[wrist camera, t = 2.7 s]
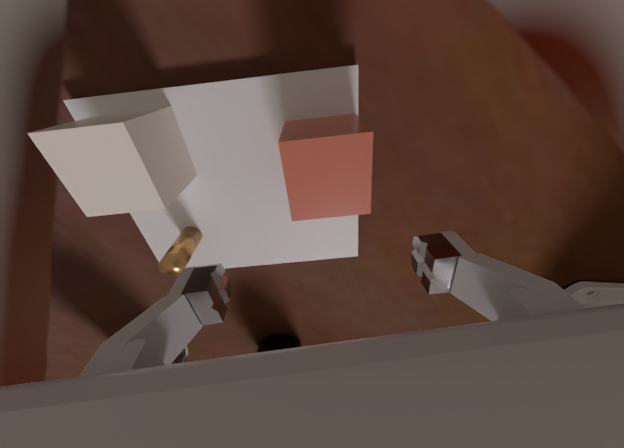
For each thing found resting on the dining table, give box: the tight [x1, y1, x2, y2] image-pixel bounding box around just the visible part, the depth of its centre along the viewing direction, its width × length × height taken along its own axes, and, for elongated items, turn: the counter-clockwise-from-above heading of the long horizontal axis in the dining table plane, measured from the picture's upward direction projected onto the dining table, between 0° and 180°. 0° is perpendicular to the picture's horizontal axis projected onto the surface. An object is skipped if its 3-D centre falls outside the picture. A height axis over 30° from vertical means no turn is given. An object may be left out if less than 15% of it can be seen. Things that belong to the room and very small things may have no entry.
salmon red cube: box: [278, 113, 373, 221], centre depth 19 cm, size 6×6×6 cm
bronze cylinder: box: [158, 226, 203, 277], centre depth 23 cm, size 2×2×5 cm
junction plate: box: [63, 65, 358, 268], centre depth 23 cm, size 22×18×1 cm
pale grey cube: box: [28, 106, 197, 217], centre depth 18 cm, size 6×6×6 cm
